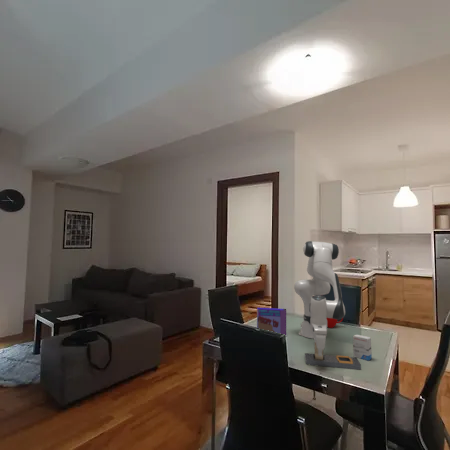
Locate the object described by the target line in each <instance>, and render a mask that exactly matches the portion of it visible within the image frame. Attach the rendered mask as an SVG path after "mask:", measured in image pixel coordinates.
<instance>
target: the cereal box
mask: <svg viewBox="0 0 450 450" xmlns="http://www.w3.org/2000/svg"><path fill="white" fill-rule="evenodd" d="M257 328H260V329H264V330H269V331H273V332H277V333H281V334H285V335H286V336H287V308H279V307H278V308H275V307H274V308H273V307H257V308H256V329H257Z"/></svg>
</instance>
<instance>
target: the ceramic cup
mask: <svg viewBox="0 0 450 450" xmlns="http://www.w3.org/2000/svg"><path fill="white" fill-rule="evenodd" d="M343 320H344V317H343V318H342V319H340V320H337V319H333V318H327V327H328V328H327V329H333V327H335V326H336V325H337V324H340V323H341V322H343Z"/></svg>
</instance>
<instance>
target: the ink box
mask: <svg viewBox="0 0 450 450" xmlns="http://www.w3.org/2000/svg"><path fill="white" fill-rule="evenodd" d="M352 346H353V347H352V348H353V349H352V351H353V356H352V357H356V358H357V359H361V360H364V361H367V362H368V361H370V360H372V358H373V356H372V355H373V354H372V337H370V336H365V335H361V334H354V335H353V336H352Z"/></svg>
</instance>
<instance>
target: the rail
mask: <svg viewBox="0 0 450 450" xmlns="http://www.w3.org/2000/svg"><path fill="white" fill-rule="evenodd" d="M304 360H305V365H306V364H310V365H309V366H315V365H318V367H326V366H327V367H328V368H336V369H337V368H340V369H350V370H360V371H361V370H362V365H361V363H360V361H359V358H357V357H354V356H348V355H347V356H346V355H339V354H338V355H337V354H336V355H331V354H323V360H321V359H315V353H304ZM327 367H326V368H327Z"/></svg>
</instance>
